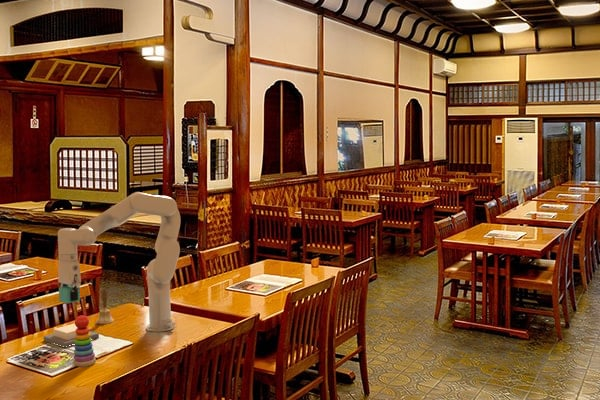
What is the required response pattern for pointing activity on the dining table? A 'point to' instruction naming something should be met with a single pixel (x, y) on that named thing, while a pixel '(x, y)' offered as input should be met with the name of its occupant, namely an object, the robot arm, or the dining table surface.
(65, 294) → the teal cube
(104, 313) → the hand bell
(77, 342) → the stacking toy
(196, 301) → the dining table surface
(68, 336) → the stack base
